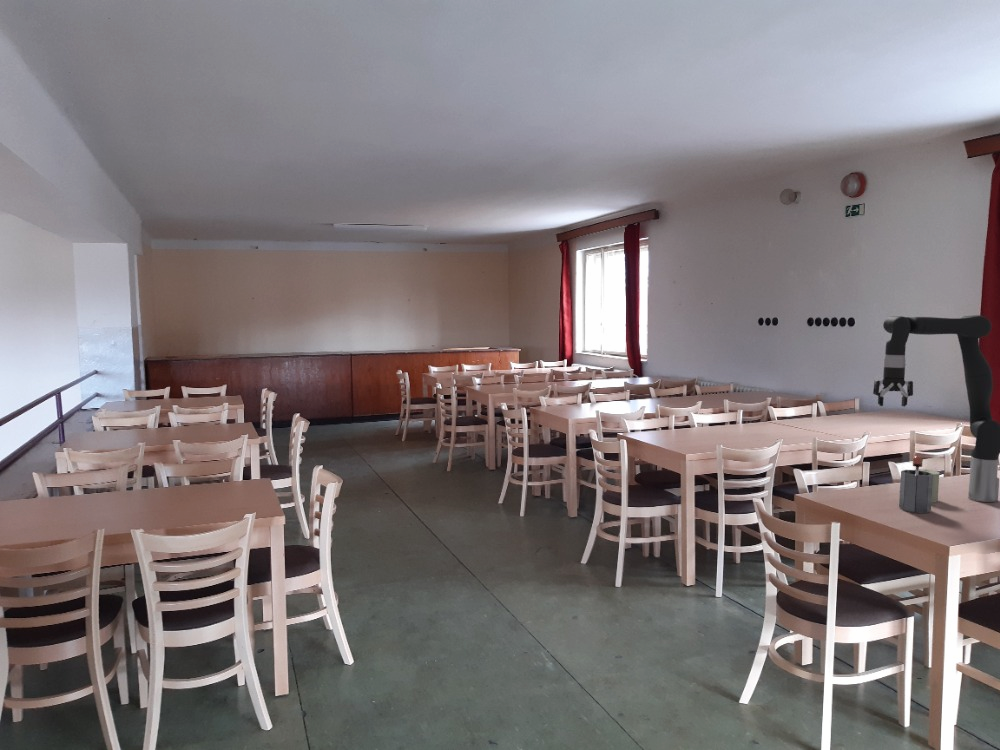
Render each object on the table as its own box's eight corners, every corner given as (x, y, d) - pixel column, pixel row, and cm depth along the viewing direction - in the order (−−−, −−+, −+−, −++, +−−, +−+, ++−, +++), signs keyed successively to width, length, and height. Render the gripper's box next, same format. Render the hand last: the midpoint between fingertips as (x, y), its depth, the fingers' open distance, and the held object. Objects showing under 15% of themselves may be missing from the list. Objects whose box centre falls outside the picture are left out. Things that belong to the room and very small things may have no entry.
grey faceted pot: (920, 505, 285) (922, 469, 283) (934, 513, 273) (937, 476, 271) (893, 504, 286) (895, 468, 285) (906, 512, 274) (908, 475, 272)
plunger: (920, 504, 281) (923, 455, 279) (929, 509, 274) (932, 459, 272) (901, 504, 282) (903, 454, 280) (909, 509, 275) (912, 458, 273)
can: (936, 498, 296) (938, 469, 295) (939, 503, 287) (941, 473, 286) (910, 495, 300) (912, 467, 299) (913, 500, 291) (914, 471, 290)
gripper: (909, 365, 292) (906, 405, 294) (872, 365, 294) (870, 404, 295) (917, 367, 285) (915, 407, 286) (879, 366, 287) (877, 406, 288)
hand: (892, 406), depth 291 cm, fingers open, 8 cm apart
